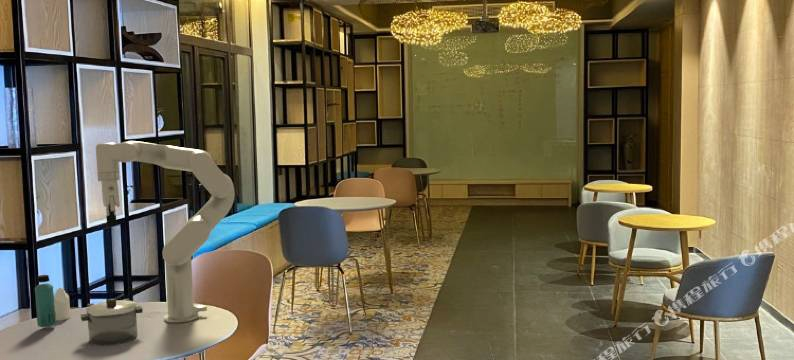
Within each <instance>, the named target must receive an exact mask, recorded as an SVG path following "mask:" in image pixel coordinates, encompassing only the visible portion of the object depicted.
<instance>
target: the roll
mask: <svg viewBox="0 0 794 360" xmlns="http://www.w3.org/2000/svg"><path fill="white" fill-rule="evenodd" d="M54 302H55V303H54V304H55V311H56V322H57V321H59V322H60V321H65V320H69V319H71V308H70V307H71V306H70V305H71V304H70V294H68V293H66V291H65V289H64V288H62V287H59V288H57V289H56V291H55V293H54Z"/></svg>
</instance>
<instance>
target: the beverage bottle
mask: <svg viewBox="0 0 794 360" xmlns="http://www.w3.org/2000/svg"><path fill="white" fill-rule="evenodd" d="M36 279H37V280H36V282H37V283H38V285H36V286H35V287H34V295H35V306H36V307H35V310H36V311H35V312H36V321H37V322H36V323H37V326H38V327H40V328H47V327H52V326H55V325H56V323H57V320H56V311H55V304H54V303H55V302H54V295H55V293H54V286H53V285H52V284H50V283H47V282H49V281H50V276H49V275H48V274H42V275H38V276H37V277H36ZM39 283H41V284H39Z"/></svg>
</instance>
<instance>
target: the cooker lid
mask: <svg viewBox="0 0 794 360" xmlns="http://www.w3.org/2000/svg"><path fill="white" fill-rule="evenodd" d="M136 307H137V303H136V301H133V300H129V301H127V300H123V299H122V300H121V299H120V300H117V298H109V299H106V301H103V302H98V303H94V305H91V306H89V307H88V306H87V308H86V309H85V310H86V314H88V315H91V316H114V315H120V314H125V313H128V312H131V311H133V310H135V309H136Z"/></svg>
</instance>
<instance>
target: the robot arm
mask: <svg viewBox="0 0 794 360" xmlns="http://www.w3.org/2000/svg"><path fill="white" fill-rule="evenodd" d="M95 155H96V156H95V158H96V173H97V181H98V182H100V183H101V195H102V196H101V197H102V204H103V206H104V207H105V208H106V209H105V210H106V226H107V227H117V224H118V223H117V215H116V213H117V212H116V207H117V208H120V206H121V204H120V203H121V201H120V195H119V194H120V193H119V192H120V191H119V184H118V181H120V179H121V177H120V168H119V167H120V166H119V165H120V164H119V162H120V163H132V162H141V163H147V164H151V165H152V164H153V165H157V166H159V167H161V168H165V169H168V170H169V169H170V170H177V171H186V172H192V173H193V176H195V178H196V179H197V180H198V181H199V183H201V184H202V185H203V187H204V188H205V190H206V191H208V193H210V195H211V196H210V198H209V200H208V201H207V202H206V203H205V204H204V205H203V206H202V207H201V208H200V209H199V210H198V211H197V212H196V213H195V214H194V215H193V216H192V217H190V218H189V219H188V220H187V222H186V223H185V225H184V226H183V227H182V228H181V229H180V230H179V231H178V232H177V234H175V235H173V236H171V237H170V238H169V239H167V240H166V242H165V244H164V246H163V249H162V252H161V253H162V259H163V260H164V264H165V283H166V299H167V300H166V301H167V313H168V314H166V315H164V316H163V320H164V321H165V322H167V323H173V324H175V323H176V324H177V323H188V322H191V321H195V320H196V319H198V318H199V312H206V311H208V309H207V305H195V304H194V287H193V285H194V284H193V268H192V263H193V262H192V256H194V254H195V253H196V252H197V251H198V250H199V249H200V248H201V247H202V246H203V245H204V244H205V243H206V242H207V240H208V239H210V236H211V232H212V231H213V230H214V229H215V228H216V227H217V225H218V224H219V223H221V221H222V220H223V219H224V218H225V217H226V216H227V214H228V213H229V212H230V210H231V209H232V206H233V204H234V202H235V194H236V193H235V187H234V182H233V181H232V179H231V177H230V176H229V175H228V174H226V173H224V172H223V171H222V170H221V169H220V168H219V166H217V164H216V162H214V160H213V159H212V156H211V154H210V153H209V152H207V151H206V150H202V149H195V148H188V147H180V146H176V145H175V146H174V145H166V144H157V143H152V142H151V143H150V142H144V141H136V140H128V141H127V140H126V141H123V142H120V143H119V142H118V143H115V142H100V143H99V142H98V143H97V144H96V145H95Z"/></svg>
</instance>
